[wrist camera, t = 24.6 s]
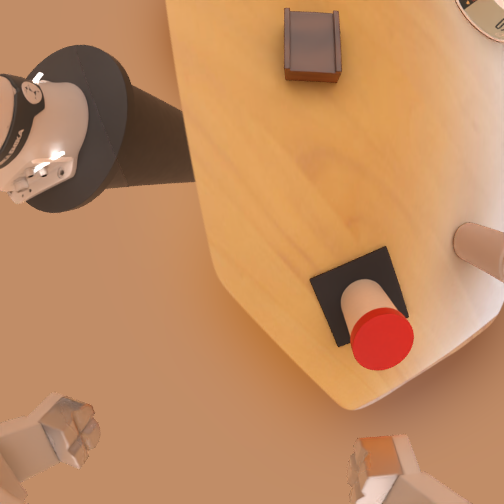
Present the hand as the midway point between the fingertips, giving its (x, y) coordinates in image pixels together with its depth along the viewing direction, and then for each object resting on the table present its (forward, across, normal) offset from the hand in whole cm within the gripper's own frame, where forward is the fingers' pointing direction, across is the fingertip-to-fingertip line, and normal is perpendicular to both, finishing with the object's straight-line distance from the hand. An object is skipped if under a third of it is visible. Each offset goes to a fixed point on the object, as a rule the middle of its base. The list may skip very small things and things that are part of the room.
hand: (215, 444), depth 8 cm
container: (+24, -11, +7) cm, 28 cm away
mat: (+30, -11, +7) cm, 33 cm away
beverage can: (+30, -25, -1) cm, 40 cm away
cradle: (+31, -4, -23) cm, 39 cm away
